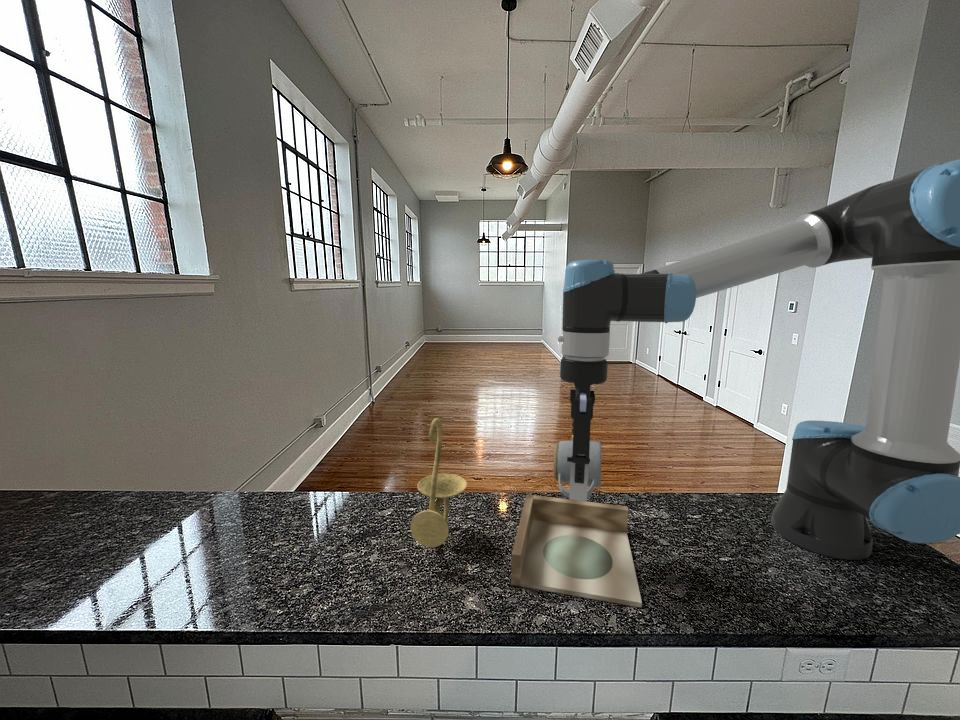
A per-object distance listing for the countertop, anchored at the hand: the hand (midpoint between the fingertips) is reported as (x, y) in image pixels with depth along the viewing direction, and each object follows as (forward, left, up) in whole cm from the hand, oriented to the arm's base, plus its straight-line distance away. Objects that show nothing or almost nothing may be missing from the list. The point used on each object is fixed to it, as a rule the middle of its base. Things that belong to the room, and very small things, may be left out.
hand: (577, 483), depth 68 cm
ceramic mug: (0, 0, -1) cm, 1 cm away
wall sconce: (+25, +1, -15) cm, 29 cm away
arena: (0, -1, -15) cm, 15 cm away
